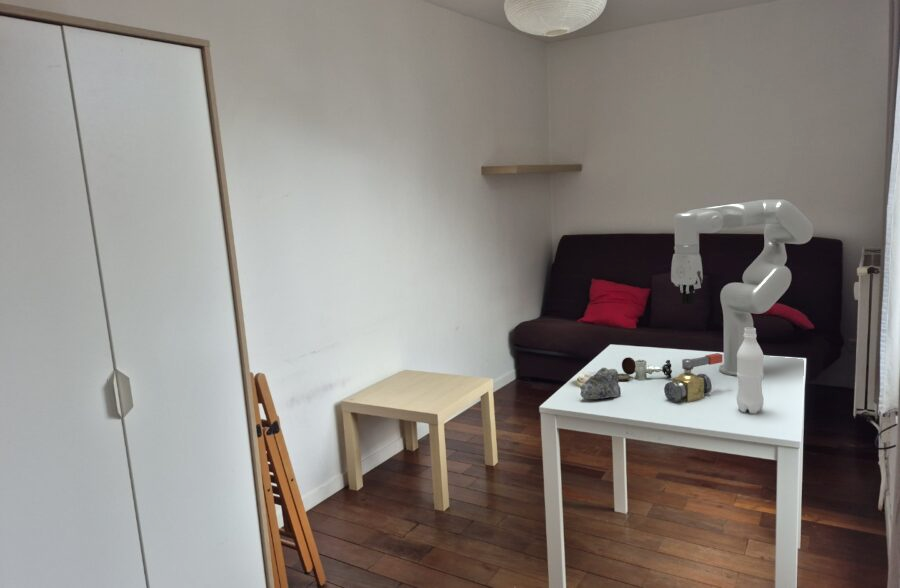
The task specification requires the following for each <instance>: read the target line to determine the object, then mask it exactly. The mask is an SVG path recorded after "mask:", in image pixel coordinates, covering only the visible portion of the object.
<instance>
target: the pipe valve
mask: <svg viewBox="0 0 900 588" xmlns="http://www.w3.org/2000/svg"><path fill="white" fill-rule="evenodd" d="M683 370H684V371H683V372H682V373H680V374H679V375H678V376H674V377H671V381H669V382H667V383H665V385H664V388H663V391H664V392H663V393H664V396H665V397H666V399H667V400H668V401H669V402H671V403H673V404H674V403H677V402H680V401H682V402H685V403H690V402H694V401H698V400H701V399H704V398H705V394H708V393H711V390H712V387H713V386H712V385H713V384H712V380H711V379H710V377H709V376H708V375H707V374H704V373H699V374H695V373H693V372H692V369H691V370H686V369H683Z"/></svg>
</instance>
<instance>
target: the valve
mask: <svg viewBox="0 0 900 588" xmlns="http://www.w3.org/2000/svg"><path fill="white" fill-rule="evenodd" d="M634 361H635V366H636V367H635V372H634V373H635V380H638V381H646V380H647V374H648V375H652V374H653V373H654V372H655V373H660V372H662V373H663V374H664V376H666V378H667V379H672V371H673V370H672V369H671V368H672V363H671V360H670V359H667V360H665V364H663V365H662V366H661V367H660V366H655V367H654V366H652V365H647V360H645V359H637V360H634Z"/></svg>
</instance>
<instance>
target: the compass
mask: <svg viewBox="0 0 900 588" xmlns="http://www.w3.org/2000/svg"><path fill="white" fill-rule="evenodd" d="M635 361H636V360H634V358H632V357H630V356H629V357H624V358H623V359H622V362H621V369H622V371H623V372H624V373H618V378H619V380H618V382H628V381H633V379H634V378H632V377H631V376H630V375H634V373H635V367H636V366H635Z"/></svg>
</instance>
